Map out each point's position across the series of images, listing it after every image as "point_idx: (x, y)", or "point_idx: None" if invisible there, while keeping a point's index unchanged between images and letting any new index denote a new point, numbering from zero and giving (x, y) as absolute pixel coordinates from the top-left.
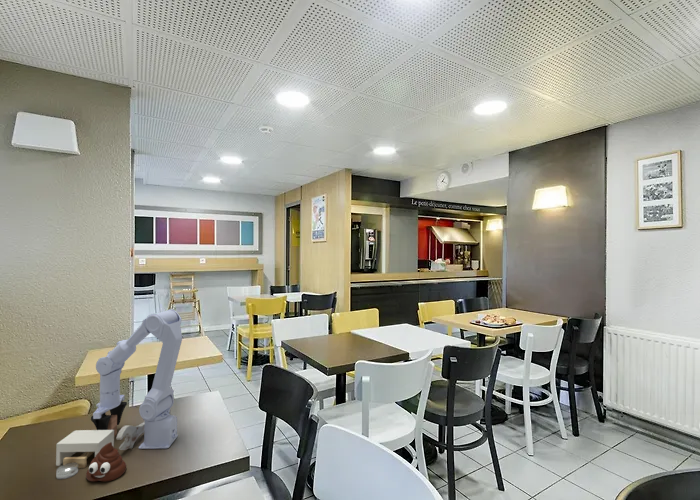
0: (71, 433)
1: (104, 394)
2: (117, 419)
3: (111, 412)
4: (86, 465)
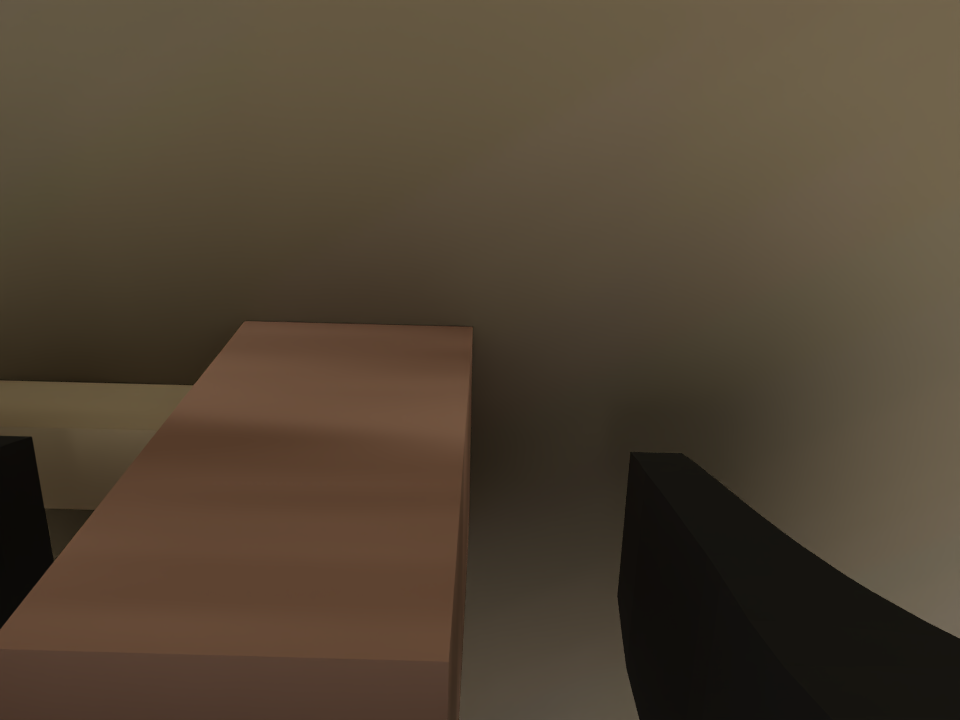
0: None
1: None
2: (653, 678)
3: (756, 669)
4: None
